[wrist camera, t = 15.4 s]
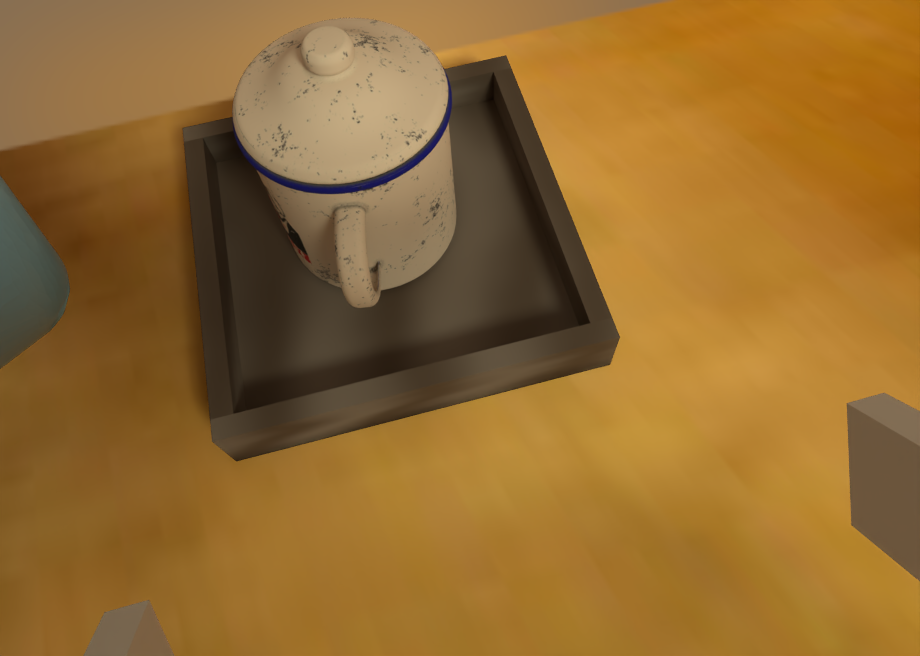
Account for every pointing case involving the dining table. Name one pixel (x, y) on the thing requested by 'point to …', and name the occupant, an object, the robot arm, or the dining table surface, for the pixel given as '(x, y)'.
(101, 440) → the dining table surface
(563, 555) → the dining table surface
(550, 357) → the tea tray
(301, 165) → the teacup with lid
